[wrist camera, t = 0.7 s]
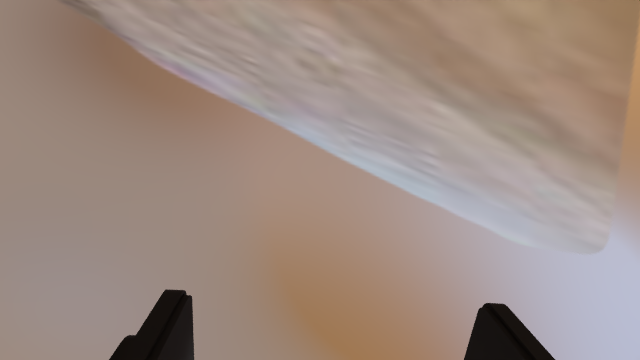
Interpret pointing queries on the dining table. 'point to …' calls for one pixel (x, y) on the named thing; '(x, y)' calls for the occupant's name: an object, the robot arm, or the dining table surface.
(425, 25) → the dining table surface
